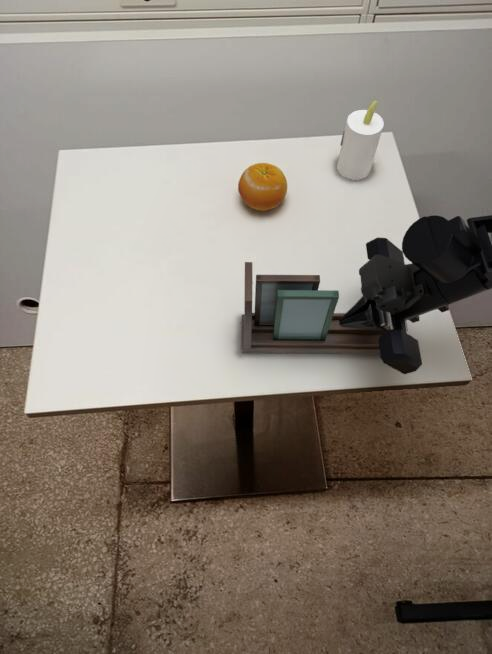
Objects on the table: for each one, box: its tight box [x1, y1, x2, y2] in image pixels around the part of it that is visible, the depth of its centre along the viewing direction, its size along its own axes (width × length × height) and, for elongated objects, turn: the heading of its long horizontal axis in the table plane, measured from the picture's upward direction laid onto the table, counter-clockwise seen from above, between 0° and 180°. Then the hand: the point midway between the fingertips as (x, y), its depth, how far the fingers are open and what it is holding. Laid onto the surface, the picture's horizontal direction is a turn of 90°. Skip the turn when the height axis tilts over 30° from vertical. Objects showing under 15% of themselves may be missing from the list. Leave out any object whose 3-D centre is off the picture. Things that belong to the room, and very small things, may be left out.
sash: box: [273, 289, 340, 341], centre depth 71 cm, size 8×1×13 cm, turn 90°
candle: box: [336, 99, 385, 181], centre depth 89 cm, size 6×6×15 cm
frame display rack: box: [240, 261, 383, 355], centre depth 72 cm, size 25×6×16 cm, turn 90°
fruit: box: [237, 162, 288, 212], centre depth 89 cm, size 8×8×8 cm
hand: (340, 323), depth 73 cm, fingers closed
